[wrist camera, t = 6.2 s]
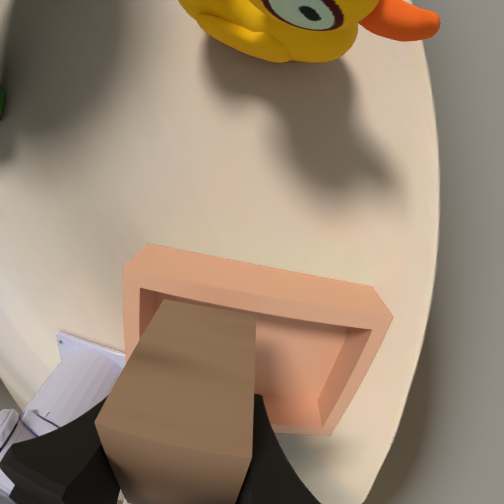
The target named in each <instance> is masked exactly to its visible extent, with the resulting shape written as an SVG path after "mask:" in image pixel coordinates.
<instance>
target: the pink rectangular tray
mask: <svg viewBox="0 0 504 504" xmlns="http://www.w3.org/2000/svg"><path fill="white" fill-rule="evenodd" d="M164 299H166V300H171V301H176V302H181V303H187V304H192V305H198V306H203V307H209V308H215V309H221V310H227V311H233V312H239V313H246V314H252V315H256V345H255V379H254V394H260V395H262V396H263V400H264V404H265V408H266V412H267V415H268V418H269V421H270V424H271V426H272V429H273V431H274V432H275V433H286V434H299V435H318V436H330V435H331V433H332V432H333V430H334V429H335V427H336V426H337V424H338V422H339V421H340V419H341V418H342V416H343V414H344V413H345V411H346V409H347V408H348V406H349V404H350V402H351V401H352V399H353V397H354V395H355V394H356V392H357V390H358V388H359V386H360V385H361V383H362V381H363V379H364V377H365V375H366V373H367V372H368V370H369V368H370V366H371V364H372V362H373V360H374V358H375V356H376V354H377V352H378V350H379V348H380V346H381V343H382V341H383V339H384V337H385V335H386V333H387V330H388V328H389V326H390V324H391V322H392V319H393V315H392V314H391V312H390V311H389V309H388V308H387V307H386V305H385V304H384V302H383V301H382V300H381V298H380V297H379V295H378V294H377V293H376V291H375V290H374V288H373V287H371V286H366V285H360V284H355V283H349V282H344V281H339V280H333V279H328V278H322V277H317V276H312V275H306V274H301V273H296V272H290V271H285V270H280V269H275V268H269V267H264V266H259V265H254V264H249V263H244V262H238V261H233V260H228V259H223V258H218V257H213V256H208V255H203V254H198V253H193V252H188V251H183V250H178V249H173V248H168V247H163V246H158V245H153V244H148V245H147V246H146V247H145V248H143V249H142V250H141V251H140V252H139V253H138V254H137V255H136V256H135V257H134V258H132V259H131V260H130V261H129V262H128V263H127V264H126V265H125V266H124V271H123V314H124V341H125V358H126V363H127V361H128V359H129V358H130V356H131V354H132V352H133V351H134V349H135V347H136V345H137V344H138V342H139V340H140V338H141V337H142V335H143V333H144V332H145V330H146V328H147V326H148V325H149V323H150V321H151V320H152V318H153V316H154V315H155V313H156V311H157V310H158V308H159V306H160V305H161V303H162V301H163V300H164Z"/></svg>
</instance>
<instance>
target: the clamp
mask: <svg viewBox="0 0 504 504" xmlns="http://www.w3.org/2000/svg"><path fill="white" fill-rule="evenodd" d="M4 100H5V93H4V92H3V91H2V90H0V120H1V114H2V109H3V104H4Z"/></svg>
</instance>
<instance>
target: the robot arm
mask: <svg viewBox="0 0 504 504" xmlns="http://www.w3.org/2000/svg"><path fill="white" fill-rule="evenodd" d="M56 337H57V342H58V346H59V351H60V356H61V362H60V363H59V364H58V365H57V367H56V368H55V369H54V371H53V372H52V373H51V374H50V376H49V377H48V378H47V380H46V381H45V382H44V383H43V385H42V386H41V387H40V389H39V390H38V391H37V393H36V394H35V395H34V397H33V398H32V399H31V401H30V402H29V403H28V405H27V406H26V408H25V409H24V410H23V412H22V413H20V414H18V413H17V412H16V411H15V410H14V409H11V410H9V409H3V410H2V411H1V412H0V504H117V500H118V496H119V492H120V486H119V484H118V482H117V480H116V478H115V475H114V473H113V471H112V468H111V466H110V463H109V461H108V459H107V456H106V453H105V451H104V448H103V446H102V443H101V440H100V437H99V435H98V432H97V429H96V426H95V423H94V422H95V420H96V418H97V416H98V414H99V412H100V411H101V409H102V407H103V405H104V403H105V401H106V399H107V397H108V396H109V394H110V392H111V390H112V388H113V386H114V384H115V383H116V381H117V379H118V377H119V375H120V374H121V372H122V370H123V368H124V366H125V365H126V358H125V353H124V352H120V351H117V350H114V349H111V348H107V347H104V346H101V345H98V344H95V343H92V342H89V341H86V340H84V339H81V338H78V337H75V336H72V335H70V334H67V333H64V332H62V331H59V332H58V333H57V334H56ZM62 341H63V342H62ZM235 504H321V503H320V502H319V501H318V500H317V499H316V498H315V497H314V496H313V495H312V493H311V492H310V491H309V490H308V489H307V487H306V486H305V485H304V484H303V482H302V481H301V480H300V478H299V477H298V476H297V474H296V473H295V471H294V470H293V468H292V467H291V465H290V463H289V462H288V460H287V458H286V456H285V455H284V453H283V451H282V449H281V447H280V445H279V443H278V440H277V438H276V436H275V433H274V431H273V429H272V426H271V424H270V421H269V418H268V415H267V412H266V408H265V404H264V400H263V396H262V395H260V394H254V411H253V442H252V459H251V462H250V465H249V467H248V470H247V473H246V476H245V478H244V481H243V484H242V487H241V489H240V492H239V494H238V497H237V500H236V502H235Z"/></svg>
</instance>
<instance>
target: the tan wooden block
mask: <svg viewBox="0 0 504 504" xmlns="http://www.w3.org/2000/svg"><path fill="white" fill-rule="evenodd" d="M255 345H256V315H252V314H246V313H239V312H233V311H227V310H221V309H215V308H209V307H203V306H198V305H192V304H187V303H181V302H176V301H171V300H166V299H164V300H163V301H162V303H161V305H160V306H159V308H158V310H157V311H156V313H155V315H154V316H153V318H152V320H151V321H150V323H149V325H148V326H147V328H146V330H145V332H144V333H143V335H142V337H141V338H140V340H139V342H138V344H137V345H136V347H135V349H134V351H133V352H132V354H131V356H130V358H129V359H128V361H127V363H126V365H125V366H124V368H123V370H122V372H121V374H120V375H119V377H118V379H117V381H116V383H115V384H114V386H113V388H112V390H111V392H110V394H109V396H108V397H107V399H106V401H105V403H104V405H103V407H102V409H101V411H100V412H99V414H98V416H97V418H96V420H95V422H94V423H95V426H96V429H97V432H98V435H99V437H100V440H101V443H102V446H103V448H104V451H105V453H106V456H107V459H108V461H109V463H110V466H111V468H112V471H113V473H114V475H115V478H116V480H117V482H118V484H119V486H120V489H121V491H122V493H123V495H124V497H125V499H126V501H127V503H130V504H235V502H236V500H237V497H238V494H239V492H240V489H241V487H242V484H243V481H244V478H245V476H246V473H247V470H248V467H249V465H250V462H251V459H252V442H253V411H254V379H255Z"/></svg>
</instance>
